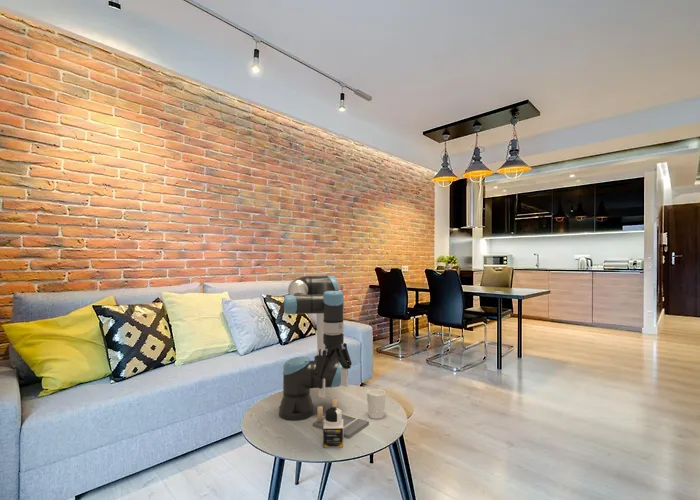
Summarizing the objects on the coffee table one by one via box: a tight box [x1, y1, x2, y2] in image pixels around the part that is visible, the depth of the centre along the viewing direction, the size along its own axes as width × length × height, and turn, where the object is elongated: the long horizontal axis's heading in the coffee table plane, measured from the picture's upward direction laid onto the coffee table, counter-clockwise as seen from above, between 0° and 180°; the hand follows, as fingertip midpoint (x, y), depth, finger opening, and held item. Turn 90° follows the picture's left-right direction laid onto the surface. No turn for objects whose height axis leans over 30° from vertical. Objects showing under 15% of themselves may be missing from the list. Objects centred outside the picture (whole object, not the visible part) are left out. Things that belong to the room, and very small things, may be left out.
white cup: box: [366, 388, 386, 420], centre depth 151 cm, size 8×8×10 cm
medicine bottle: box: [322, 406, 344, 448], centre depth 129 cm, size 7×7×12 cm
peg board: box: [312, 398, 370, 440], centre depth 142 cm, size 18×14×7 cm
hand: (333, 391), depth 129 cm, fingers open, 13 cm apart
